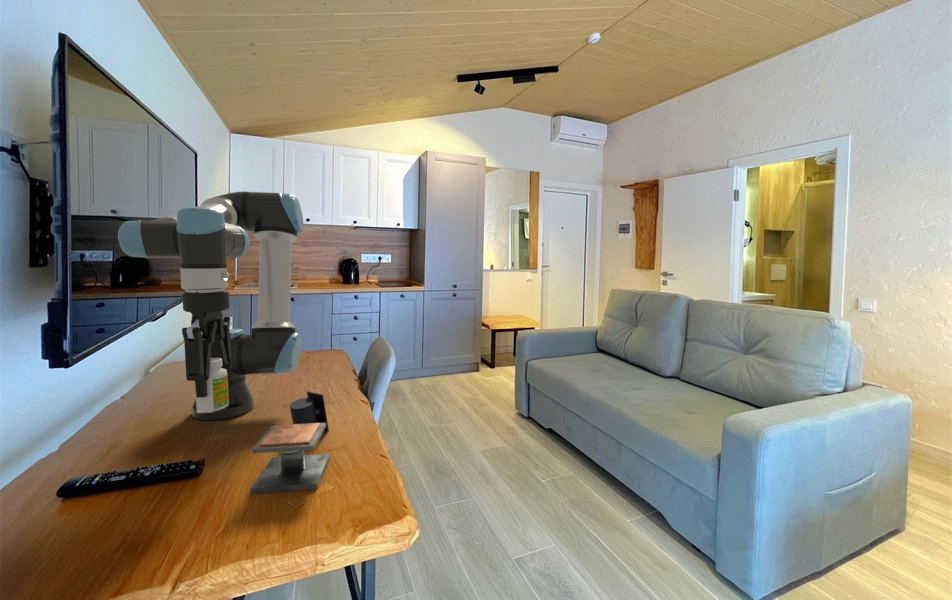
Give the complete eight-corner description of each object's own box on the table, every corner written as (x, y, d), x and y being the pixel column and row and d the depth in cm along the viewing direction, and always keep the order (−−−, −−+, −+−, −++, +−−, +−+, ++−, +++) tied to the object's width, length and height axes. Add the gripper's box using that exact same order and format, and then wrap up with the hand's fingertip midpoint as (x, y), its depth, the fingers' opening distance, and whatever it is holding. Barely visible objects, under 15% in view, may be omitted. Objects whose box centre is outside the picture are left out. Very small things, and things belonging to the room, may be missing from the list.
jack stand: (272, 462, 88) (270, 422, 87) (329, 458, 90) (328, 419, 89) (250, 494, 76) (248, 448, 75) (317, 489, 78) (315, 444, 77)
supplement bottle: (213, 413, 77) (210, 364, 76) (190, 411, 78) (186, 362, 77) (235, 403, 82) (232, 357, 81) (213, 401, 83) (210, 355, 82)
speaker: (320, 423, 108) (315, 387, 106) (329, 431, 104) (324, 394, 102) (290, 434, 103) (285, 396, 101) (299, 443, 99) (293, 404, 96)
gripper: (202, 295, 69) (210, 424, 72) (246, 286, 87) (251, 389, 90) (153, 295, 68) (164, 426, 71) (208, 286, 86) (215, 390, 89)
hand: (213, 405), depth 80 cm, fingers closed on supplement bottle, 5 cm apart
